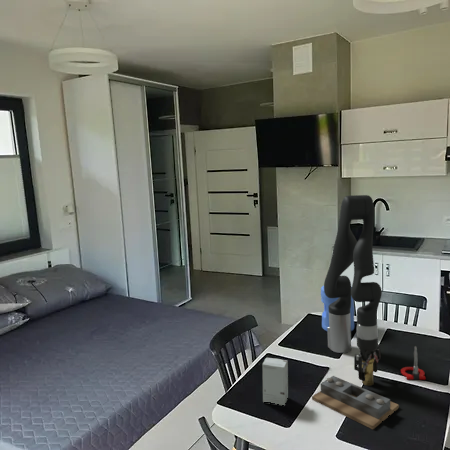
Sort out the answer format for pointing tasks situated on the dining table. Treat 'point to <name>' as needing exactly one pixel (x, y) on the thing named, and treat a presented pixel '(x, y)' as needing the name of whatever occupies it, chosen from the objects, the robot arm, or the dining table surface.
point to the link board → (354, 402)
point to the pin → (368, 373)
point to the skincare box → (275, 381)
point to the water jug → (325, 314)
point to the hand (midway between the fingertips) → (368, 375)
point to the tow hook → (414, 370)
